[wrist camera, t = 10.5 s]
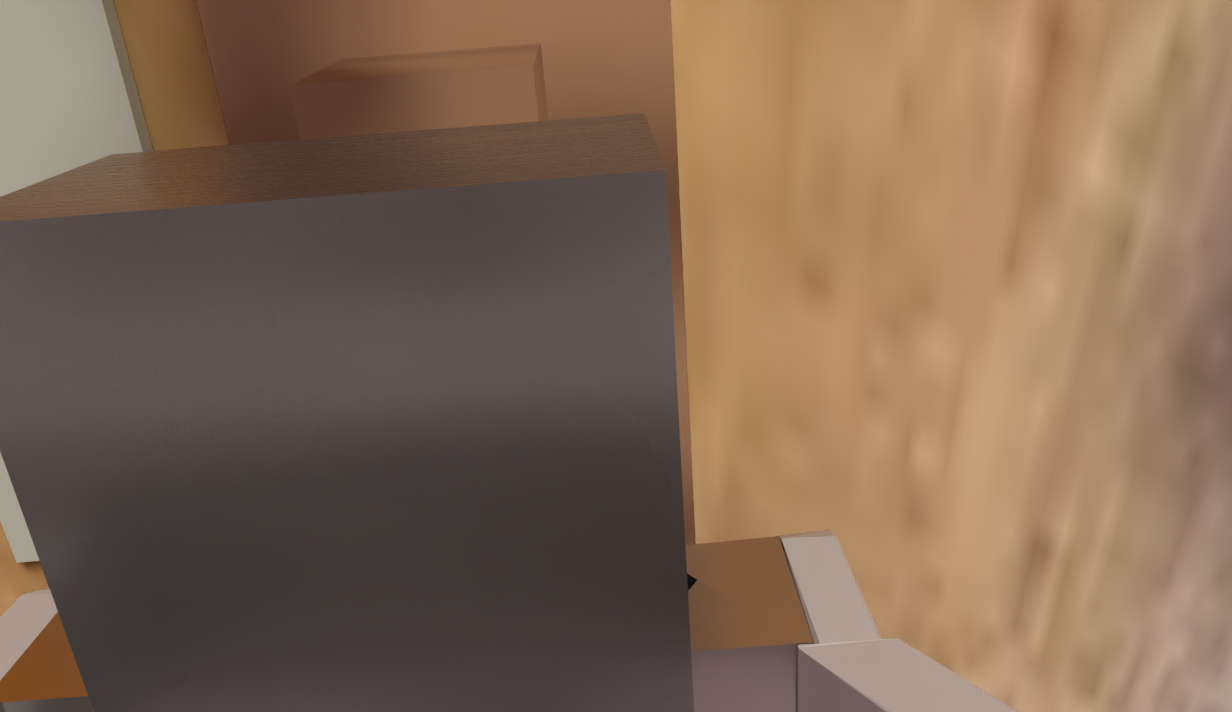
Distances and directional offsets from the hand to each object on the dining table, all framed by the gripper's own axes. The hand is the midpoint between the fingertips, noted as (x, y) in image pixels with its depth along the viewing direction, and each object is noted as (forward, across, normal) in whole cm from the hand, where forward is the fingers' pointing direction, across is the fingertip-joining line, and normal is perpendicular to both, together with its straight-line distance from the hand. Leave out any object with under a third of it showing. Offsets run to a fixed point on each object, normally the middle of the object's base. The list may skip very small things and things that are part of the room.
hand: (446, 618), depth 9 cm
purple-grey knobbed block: (0, 0, 0) cm, 0 cm away
